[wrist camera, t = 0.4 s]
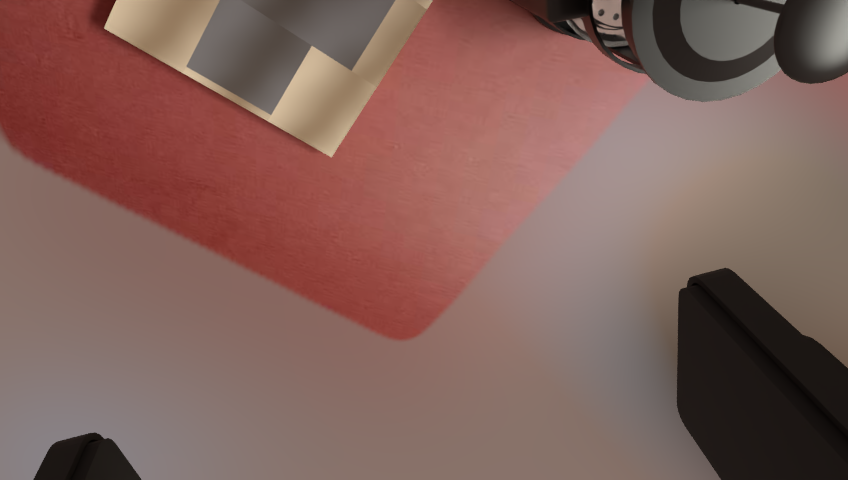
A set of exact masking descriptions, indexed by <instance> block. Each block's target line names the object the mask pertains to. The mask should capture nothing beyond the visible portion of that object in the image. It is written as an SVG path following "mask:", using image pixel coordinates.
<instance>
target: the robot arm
mask: <svg viewBox="0 0 848 480" xmlns="http://www.w3.org/2000/svg"><path fill="white" fill-rule="evenodd" d="M678 304H679V305H678V367H677V371H678V372H677V407H678V412H679V414H680V417H681V419H682V422H683V423H684V425H685V427H686V428H687V430H688V431H689V433H690V434H691V436H692V437H693V439H694V440H695V442H696V443H697V444H698V446H699V447H700V449H701V450H702V452H703V453H704V455H705V456H706V458H707V459H708V461H709V462H710V464H711V465H712V467H713V468H714V470H715V471H716V472H717V474H718V476H719V477H720V478H721V480H848V368H847V367H846V366H844V365H843V364H842V363H841V362H840V361H839V360H838V359H837V358H836V357H834V356H833V355H832V354H831V353H830V352H829V351H828V350H827V349H825V348H824V347H823V346H822V345H821V344H819V343H818V342H817V341H815V340H814V339H813V338H810V337H807V336H804V335H802V334H801V333H800V332H799V331H798V330H797V329H796V328H794V327H793V326H792V325H791V324H790V323H789V322H788V321H787V320H786V319H785V318H784V317H782V316H781V315H780V314H779V313H778V312H777V311H776V310H775V309H774V308H773V307H772V306H770V305H769V304H768V303H767V302H766V301H765V300H764V299H763V298H762V297H761V296H759V294H757V293H756V292H755V291H754V290H753V289H752V288H751V287H750V286H749V285H748V284H747V283H746V282H744V281H743V280H742V279H741V278H740V277H739V276H738V275H737V274H736V273H735V272H733V271H732V270H730V269H728V268H724V269H719V270H716V271H711V272H708V273H704V274H700V275H696V276H693V277H691V278H689V280H688V283H687V287H686V288H683V289H681V290H680V291H679V303H678ZM34 480H141V478H140V477H139V475H138V474H137V473H136V471H135V470H134V469H133V467H132V466H131V464H130V463H129V462H128V460H127V459H126V457H125V456H124V455H123V453H122V452H121V451H120V449H119V448H118V446H117V445H116V444H115V443H114V441H113V440H111V439H109V438H107V439H104V438H103V437H102V436H101V435H100V434H97V433H89V434H85V435H81V436H77V437H73V438H70V439H66V440H62V441H58V442H56V443H55V444H53V445H52V446H51V447H50V449H49V450H48V452H47V454H46V456H45V458H44V460H43V462H42V464H41V466H40V468H39V470H38V472H37V474H36V476H35V478H34Z"/></svg>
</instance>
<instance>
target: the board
mask: <svg viewBox="0 0 848 480" xmlns="http://www.w3.org/2000/svg"><path fill="white" fill-rule="evenodd" d="M432 1H433V0H116V2H115V4H114V6H113V9H112V11H111V13H110V15H109V18H108V20H107V22H106V24H105V27H104V29H106V30H107V31H109V32H111V33H113V34H115V35H116V36H118V37H120V38H122V39H123V40H125V41H127V42H129V43H130V44H132V45H134V46H136V47H137V48H139V49H141V50H143V51H145V52H146V53H148V54H150V55H152V56H153V57H155V58H157V59H159V60H160V61H162V62H164V63H166V64H168V65H169V66H171V67H173V68H175V69H176V70H178V71H180V72H182V73H183V74H185V75H187V76H189V77H190V78H192V79H194V80H196V81H198V82H199V83H201V84H203V85H205V86H206V87H208V88H210V89H212V90H213V91H215V92H217V93H219V94H220V95H222V96H224V97H226V98H228V99H229V100H231V101H233V102H235V103H236V104H238V105H240V106H242V107H243V108H245V109H247V110H249V111H251V112H252V113H254V114H256V115H258V116H259V117H261V118H263V119H265V120H266V121H268V122H270V123H272V124H273V125H275V126H277V127H279V128H281V129H282V130H284V131H286V132H288V133H289V134H291V135H293V136H295V137H296V138H298V139H300V140H302V141H304V142H305V143H307V144H309V145H311V146H312V147H314V148H316V149H318V150H319V151H321V152H323V153H325V154H326V155H328V156H330V157H332V156H333V154H334V153H335V151H336V149H337V148H338V146H339V145H340V143H341V142H342V140H343V139H344V137H345V136H346V134H347V132H348V131H349V129H350V128H351V126H352V125H353V123H354V122H355V120H356V118H357V117H358V115H359V114H360V112H361V111H362V109H363V108H364V106H365V105H366V103H367V101H368V100H369V98H370V97H371V95H372V94H373V92H374V91H375V89H376V87H377V86H378V84H379V83H380V81H381V80H382V78H383V77H384V75H385V74H386V72H387V70H388V69H389V67H390V66H391V64H392V63H393V61H394V60H395V58H396V57H397V55H398V53H399V52H400V50H401V49H402V47H403V46H404V44H405V43H406V41H407V39H408V38H409V36H410V35H411V33H412V32H413V30H414V29H415V27H416V26H417V24H418V22H419V21H420V19H421V18H422V16H423V15H424V13H425V12H426V10H427V8H428V7H429V5H430V4H431V2H432Z"/></svg>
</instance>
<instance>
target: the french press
mask: <svg viewBox="0 0 848 480" xmlns="http://www.w3.org/2000/svg"><path fill="white" fill-rule="evenodd" d="M510 1H512V2H514V3H516V4H517V5H519V6H521V7H523V8H525V9H526V10H528V11H530V12H531V13H532V14H533V16H534V17H535V18H536V19H537V20H538V21H539V22H540V23H542V24H543V25H545V26H546V27H548V28H549V29H551V30H553V31H556V32H559V33H561V34H566V35H569V36H572V37H574V38H577V39H580V40H587V41H589V42H592V43H594V45H595V46H596V47H597V48H598V49H599V50H600V51H601V52H602V54H604V55H605V56H607V57H608V58H610V59H611V60H613V61H614V62H616V63H618V64H619V65H621V66H623V67H625V68H627V69H630V70H633V71H635V72H638V73H644V74H647V75H648V76H649V77H650V78H651V80H652V81H653V82H654V83H655V84H657V85H658V86H660V87H661V88H663V89H664V90H666V91H667V92H669V93H670V94H673V95H675V96H678V97H681V98H683V99H686V100H693V101H694V100H695V101H701V102H707V101H718V100H724V99H727V98H731V97H734V96H738V95H741V94H743V93H745V92H747V91H749V90H751V89H753V88H756V87H758V86H759V85H761V84H762V83H763V82H765V81H767V80H768V79H769V78H771V77H772V76H774V75H775V74H776V73H778V71H780V70H781V69H782V71H783V72H784V73H785V74H786V75H787V76H789V77H790V78H791V79H793V80H796V81H798V82H801V83H808V84H813V83H823V82H826V81H830V80H833V79H836V78H838V77H840V76H842V75H844V74H846V73H847V72H848V0H510ZM613 53H614V54H616V55H618V56H620V57H622V58H624V59H625V60H627V61H629V62H631V63H633V64H629V63H627V62H624V61H621V60H620V59H618V58H617V57H615V56H614V55H613Z"/></svg>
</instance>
